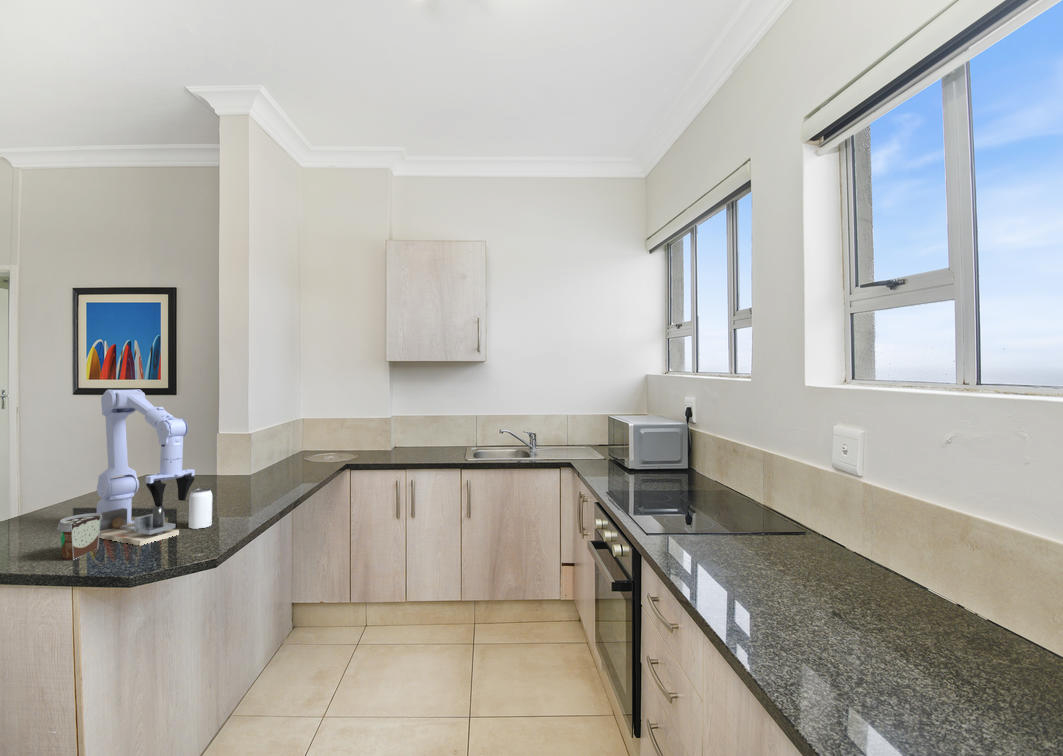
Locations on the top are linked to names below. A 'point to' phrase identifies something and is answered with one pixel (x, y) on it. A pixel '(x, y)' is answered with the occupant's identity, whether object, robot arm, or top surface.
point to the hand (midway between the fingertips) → (170, 503)
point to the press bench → (127, 529)
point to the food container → (79, 534)
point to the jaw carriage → (152, 522)
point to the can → (200, 508)
